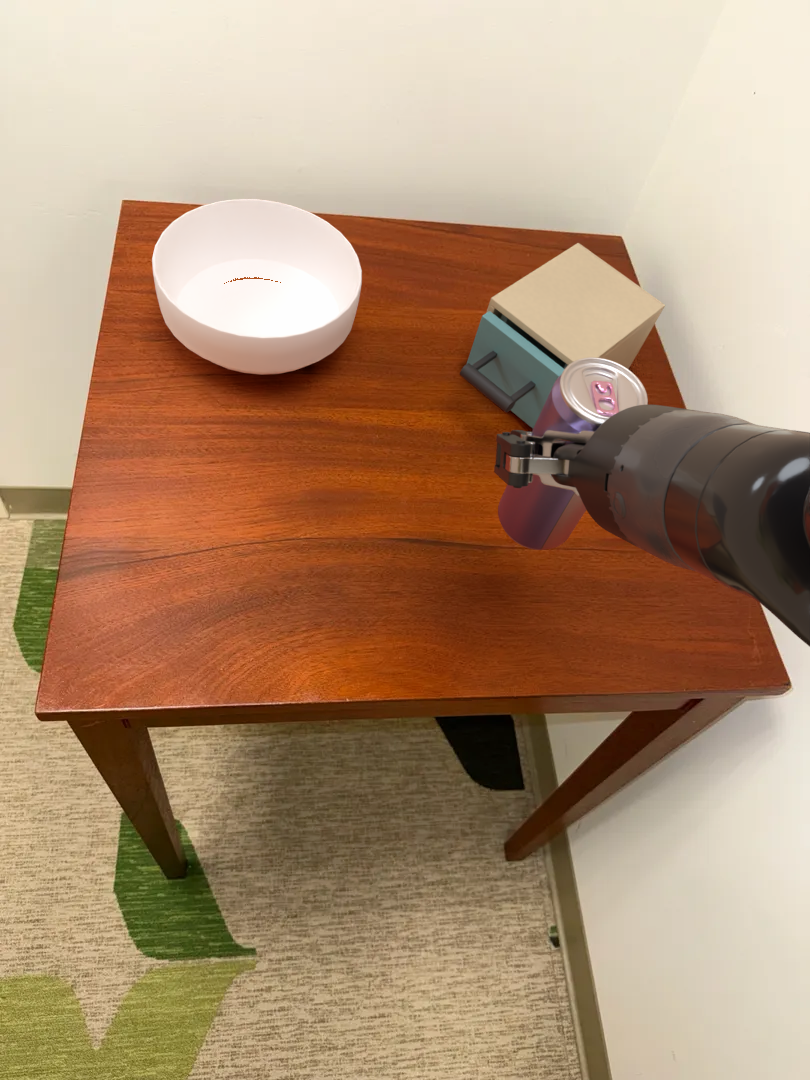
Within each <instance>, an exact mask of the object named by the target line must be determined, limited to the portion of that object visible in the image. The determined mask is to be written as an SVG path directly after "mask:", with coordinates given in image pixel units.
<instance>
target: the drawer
mask: <svg viewBox="0 0 810 1080" xmlns="http://www.w3.org/2000/svg"><path fill="white" fill-rule="evenodd" d="M486 312H487V311H486ZM486 312H485V313H484V314H483V315H481V318H480V321H479V324H478V327H477V330H476V334H475V337H474V340H473V343H472V346H471V349H470V352H469V355H468V358H467V361H466V364H464V366H463V367H462V368H461V369H460V372H459V376H461V377H462V378H463V379H464V380H465V381H467V382H468V383H469V384H470V385H472V386H473V387H474V388H475V389H476V390H478V391H479V392H480V393H481V394H483V395H484V396H485V397H486V398H487V399H488V400H490V401H491V402H492V403H493V404H495V405H496V406H497V407H498V408H499V409H500V410H502V411H503V412H505V414H506V413H509V412H510V411H511V412H512V413H513V414H515V415H516V416H517V417H518V419H520V420H522V421H523V422H524V423H525V424H527V425H528V426H529V428H531V429H533V428H534V426H535V424H536V422H537V420H538V417H539V415H540V413H541V411H542V409H543V407H544V404H545V402H546V400H547V398H548V396H549V394H550V391H551V389H552V387H553V385H554V383H555V381H556V380H557V378H558V377H559V376H560V375H561V374H562V373H563V371H564V369H565V368H566V367H567V366H568V365H567V364H566V363H565V362H563V361H562V360H561V359H560V358H558V357H557V356H556V355H554V354H553V353H552V352H551V351H549V350H548V349H547V348H545V347H544V346H543V345H542V344H540V343H539V342H538V341H536V340H535V339H534V338H533V337H531V336H530V335H529V334H527V333H526V332H525V331H524V330H522V329H521V328H520V327H518V326H517V325H516V324H515V323H513V322H512V321H511V320H509V319H508V318H507V317H506V316H504V315H503V314H502V316H501V319H499V318H498V317H497V316H496V315H494V314H493V313H492V312H491V311H489V312H487V313H486Z"/></svg>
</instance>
